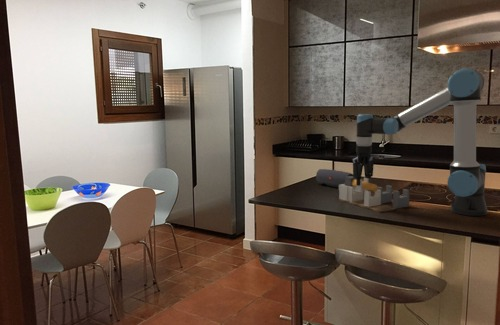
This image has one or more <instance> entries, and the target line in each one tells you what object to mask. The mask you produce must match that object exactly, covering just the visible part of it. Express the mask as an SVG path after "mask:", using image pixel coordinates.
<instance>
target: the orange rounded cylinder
mask: <svg viewBox="0 0 500 325" xmlns="http://www.w3.org/2000/svg"><path fill="white" fill-rule="evenodd" d="M345 185H347V186H350V187H351V186H355V187H357V185H356V178H353V176H347V177H345ZM378 187H379V186H378V185H377V184H376V183H371V182H369V183H368V182H364V180H362V189H366V190H368V191H370V192H375V191H377V189H378Z"/></svg>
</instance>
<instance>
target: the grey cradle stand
mask: <svg viewBox="0 0 500 325" xmlns="http://www.w3.org/2000/svg"><path fill="white" fill-rule="evenodd" d="M378 190H381V204H382V205H383V204H386V203H392V207H393V208H395V209H402V208H407V207H409V206H410V192H411V191H410V189H406V188H404V189H403V188H402V195H401V194H400V193H401V192H400V191H398V190H393V185H388V184H387V185H385V191H383V190H384V189H383V187H382V186H378Z"/></svg>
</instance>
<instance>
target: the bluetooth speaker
mask: <svg viewBox="0 0 500 325" xmlns="http://www.w3.org/2000/svg"><path fill="white" fill-rule="evenodd" d="M347 176H353V173H352V172H346V171H342V170H336V169H327V168H326V169H325V168H319V169H318V170H317V172H316V174H315V180H316V181H317V182H318V183H321V184H325V185H326V186H327V187H331V188H333V187H334V188H338V189H339V185H340V184H345V177H347Z"/></svg>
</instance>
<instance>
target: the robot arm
mask: <svg viewBox="0 0 500 325" xmlns="http://www.w3.org/2000/svg"><path fill="white" fill-rule="evenodd" d="M484 86H485V78H484V76H483V75H482V73H480V72H479V71H477V70H474V69H472V68H461V69H458V70H455V71H454V72H453V73H451V75H450V76H449V78H448V80H447V87H445V88H444V89H441V90H440V91H438V92H435V93H434V94H432V95H430V96H429V97H426V98H425V99H423V100H421V101H420V102H418V103H416V104H414V105H411V107H408V108H407V109H404V110H403V111H401V112H399V113H397V114H395V115H393V116H392V117H386V118H385V117H384V118H381V117H380V118H375V117H374V116H373V114H372V113H371V114H370V113H359V114H357V116H356V136H355V137H356V141H355V143H356V147H355V153H356V156H355V158H352V159H351V162H352V174H353V178H356V185H357V191H358V192H362V181H364V182H368V183H370V179H372V177H373V176H374V165H375V164H374V163H375V160H376V157H374V156H372V153H373V151H372V150H373V148H372V145H373V134H374V135H377V134H378V135H388V136H389V135H395V134H397V133H398V132H401V131H402V130H403V129H405V128H406V127H408V126H410V125H413V124H415V123H416V122H419V121H420V120H422V119H424V118H426V117H427V116H430V115H433V113H435V112H439V111H440V110H441V109H444V108H446V107H448V106H449V105H452V106H453V160H452V162H451V163H450V164H449V175H448V177H447V182H446V183H447V188H448V189H449V191H450V192H451V193H452V194H453V195H454V197H453V200H452V202H451V205H450V211H451V212H452V213H454V214H458V215H461V216H469V217H482V216H486V215H487V214H488V207H487V204H486V199H485V185H486V184H485V183H486V175H487V174H486V173H487V169H486V168H487V166H486V164H483V163H479V162H478V161H477V105H478V104H479V103H480V102H481V101H482V100H481V94H482V91H483V89H484ZM363 170H364V177H363V179H362V174H363ZM363 190H364V192H365V191H369V190H366V189H363Z"/></svg>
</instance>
